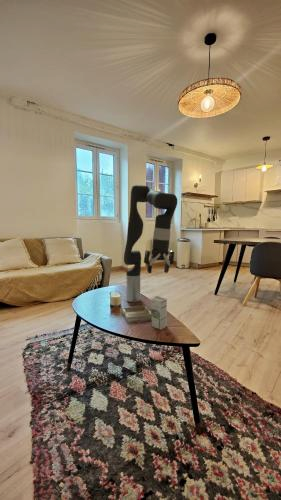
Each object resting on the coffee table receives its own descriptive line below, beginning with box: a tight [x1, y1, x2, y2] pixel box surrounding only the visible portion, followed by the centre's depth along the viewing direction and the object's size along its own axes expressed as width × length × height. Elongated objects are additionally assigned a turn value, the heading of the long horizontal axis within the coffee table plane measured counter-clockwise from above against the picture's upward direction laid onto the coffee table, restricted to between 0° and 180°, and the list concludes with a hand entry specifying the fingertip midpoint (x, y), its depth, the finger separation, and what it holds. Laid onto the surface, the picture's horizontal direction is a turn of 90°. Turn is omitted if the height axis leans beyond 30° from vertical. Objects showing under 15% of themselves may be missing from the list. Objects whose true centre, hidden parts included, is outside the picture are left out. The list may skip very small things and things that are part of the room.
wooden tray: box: [121, 304, 151, 324], centre depth 121 cm, size 14×14×3 cm
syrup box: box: [150, 296, 168, 330], centre depth 108 cm, size 6×6×14 cm
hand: (157, 272), depth 102 cm, fingers open, 8 cm apart
